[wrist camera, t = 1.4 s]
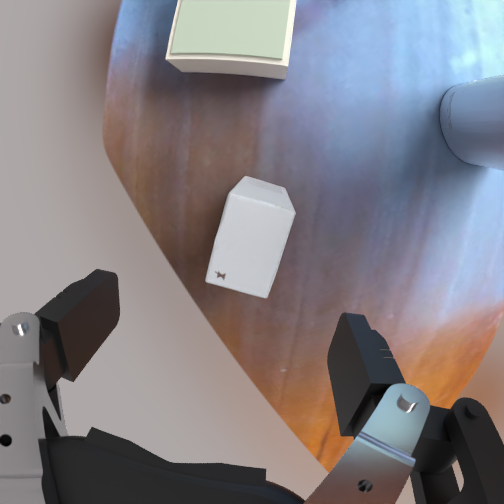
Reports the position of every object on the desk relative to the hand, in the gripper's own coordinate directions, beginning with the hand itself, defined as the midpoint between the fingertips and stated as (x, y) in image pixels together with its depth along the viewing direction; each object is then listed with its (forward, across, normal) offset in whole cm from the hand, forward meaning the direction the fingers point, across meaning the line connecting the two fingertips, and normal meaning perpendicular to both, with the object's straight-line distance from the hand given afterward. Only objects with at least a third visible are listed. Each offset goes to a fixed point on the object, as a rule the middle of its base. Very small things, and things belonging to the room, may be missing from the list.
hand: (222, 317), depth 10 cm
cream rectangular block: (+20, +4, -18) cm, 27 cm away
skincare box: (+20, 0, 0) cm, 20 cm away
